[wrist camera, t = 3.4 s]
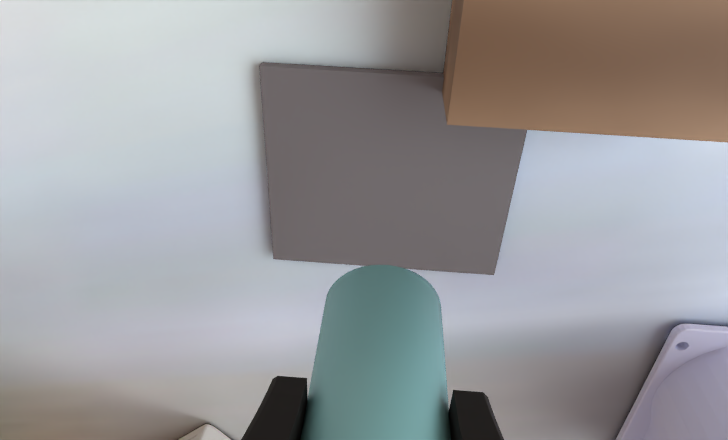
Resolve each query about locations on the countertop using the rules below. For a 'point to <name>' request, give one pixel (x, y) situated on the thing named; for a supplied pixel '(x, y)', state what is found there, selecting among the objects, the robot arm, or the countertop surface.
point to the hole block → (590, 67)
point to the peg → (379, 360)
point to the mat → (382, 171)
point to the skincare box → (205, 434)
